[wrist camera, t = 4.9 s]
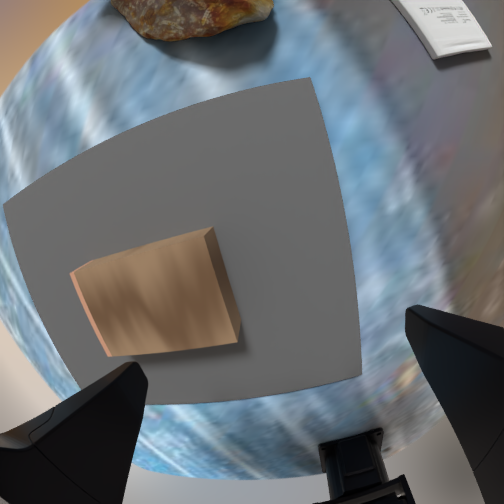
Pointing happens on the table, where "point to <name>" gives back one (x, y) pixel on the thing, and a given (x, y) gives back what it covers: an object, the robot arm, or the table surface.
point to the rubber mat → (227, 233)
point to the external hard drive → (444, 26)
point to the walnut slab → (160, 296)
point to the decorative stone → (190, 16)
